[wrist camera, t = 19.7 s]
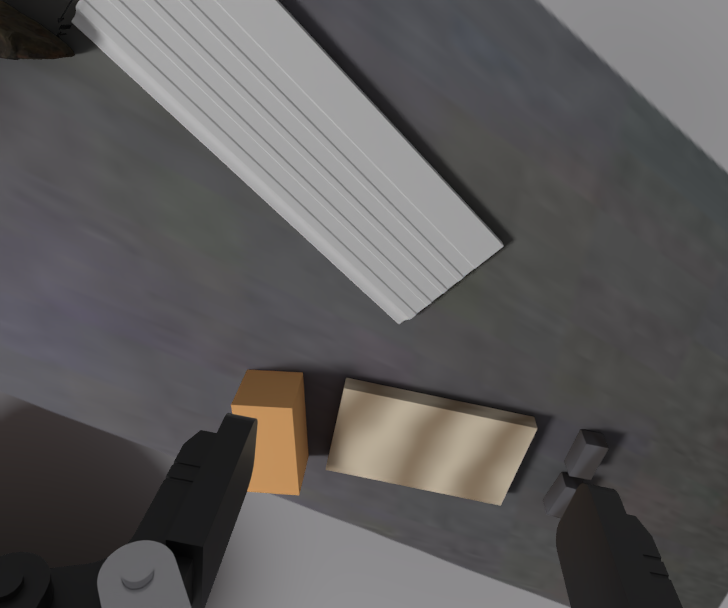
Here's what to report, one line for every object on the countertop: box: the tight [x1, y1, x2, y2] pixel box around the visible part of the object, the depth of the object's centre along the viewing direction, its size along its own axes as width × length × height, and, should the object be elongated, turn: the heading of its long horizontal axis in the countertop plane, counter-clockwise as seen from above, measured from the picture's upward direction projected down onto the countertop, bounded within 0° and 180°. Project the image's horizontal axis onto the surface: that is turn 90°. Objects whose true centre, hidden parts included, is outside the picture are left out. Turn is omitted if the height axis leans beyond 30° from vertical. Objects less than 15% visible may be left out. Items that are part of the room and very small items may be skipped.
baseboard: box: [57, 0, 504, 324], centre depth 37 cm, size 31×3×12 cm
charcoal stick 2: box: [564, 429, 609, 480], centre depth 48 cm, size 2×4×2 cm
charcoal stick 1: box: [543, 472, 583, 518], centre depth 51 cm, size 2×4×2 cm
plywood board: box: [326, 378, 537, 505], centre depth 49 cm, size 17×10×2 cm, turn 79°
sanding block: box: [231, 370, 309, 495], centre depth 48 cm, size 5×10×5 cm, turn 0°
